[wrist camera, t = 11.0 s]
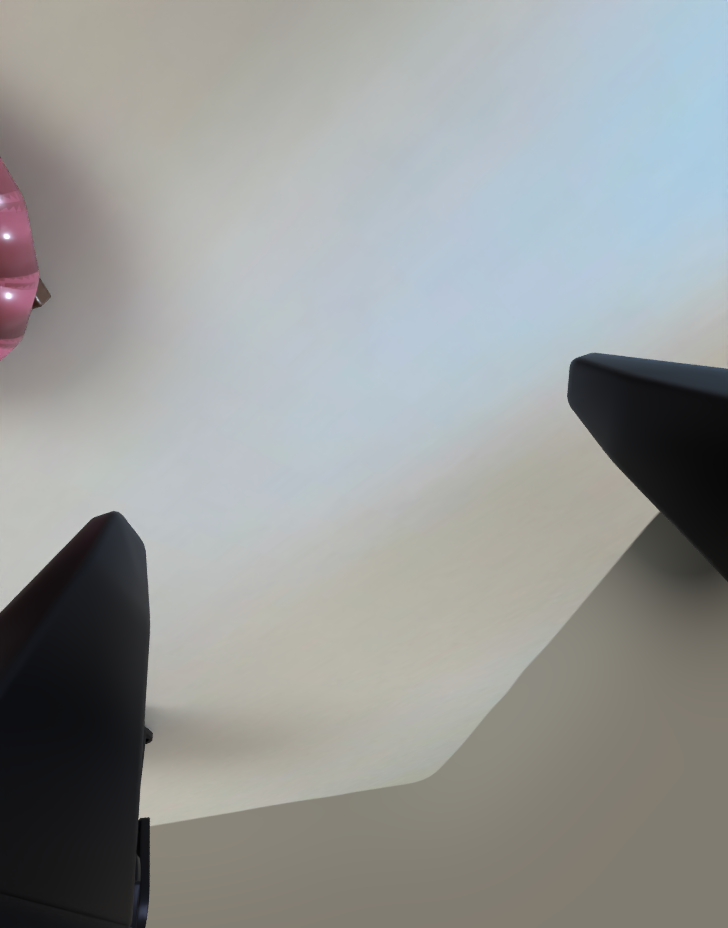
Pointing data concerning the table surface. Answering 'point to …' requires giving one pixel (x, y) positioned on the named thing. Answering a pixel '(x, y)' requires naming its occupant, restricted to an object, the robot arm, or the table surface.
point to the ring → (15, 264)
